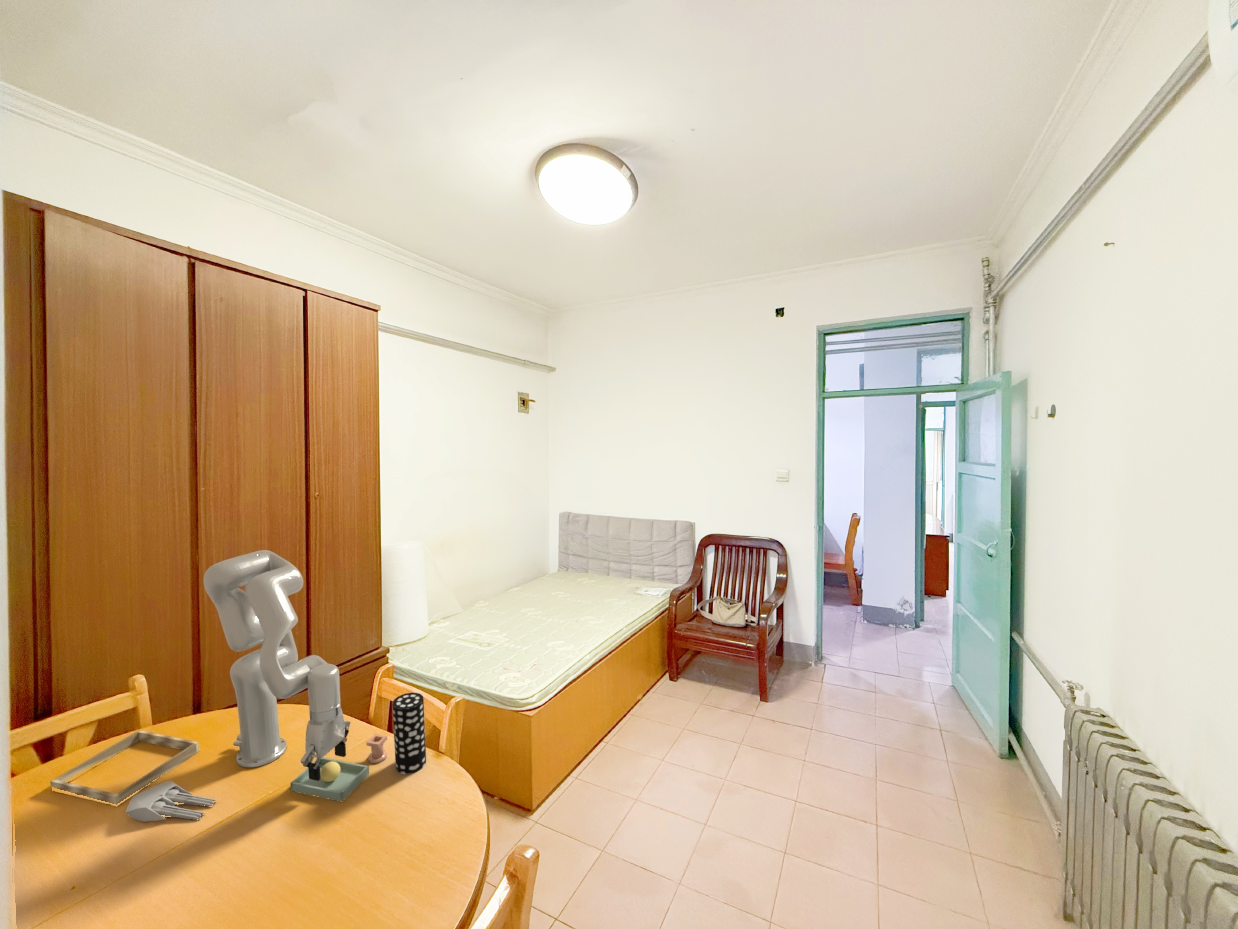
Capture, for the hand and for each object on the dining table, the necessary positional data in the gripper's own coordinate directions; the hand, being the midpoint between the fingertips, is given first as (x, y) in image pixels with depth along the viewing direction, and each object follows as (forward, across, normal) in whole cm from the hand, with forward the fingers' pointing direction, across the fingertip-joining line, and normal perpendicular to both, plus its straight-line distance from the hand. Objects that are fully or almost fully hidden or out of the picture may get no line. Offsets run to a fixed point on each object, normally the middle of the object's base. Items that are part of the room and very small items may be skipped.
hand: (328, 767), depth 155 cm
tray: (+4, 0, +1) cm, 4 cm away
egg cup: (+4, -12, +7) cm, 14 cm away
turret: (+6, +19, -32) cm, 37 cm away
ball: (+4, 0, +1) cm, 4 cm away
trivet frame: (+6, +10, -57) cm, 58 cm away
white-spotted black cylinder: (+4, -12, +18) cm, 22 cm away
